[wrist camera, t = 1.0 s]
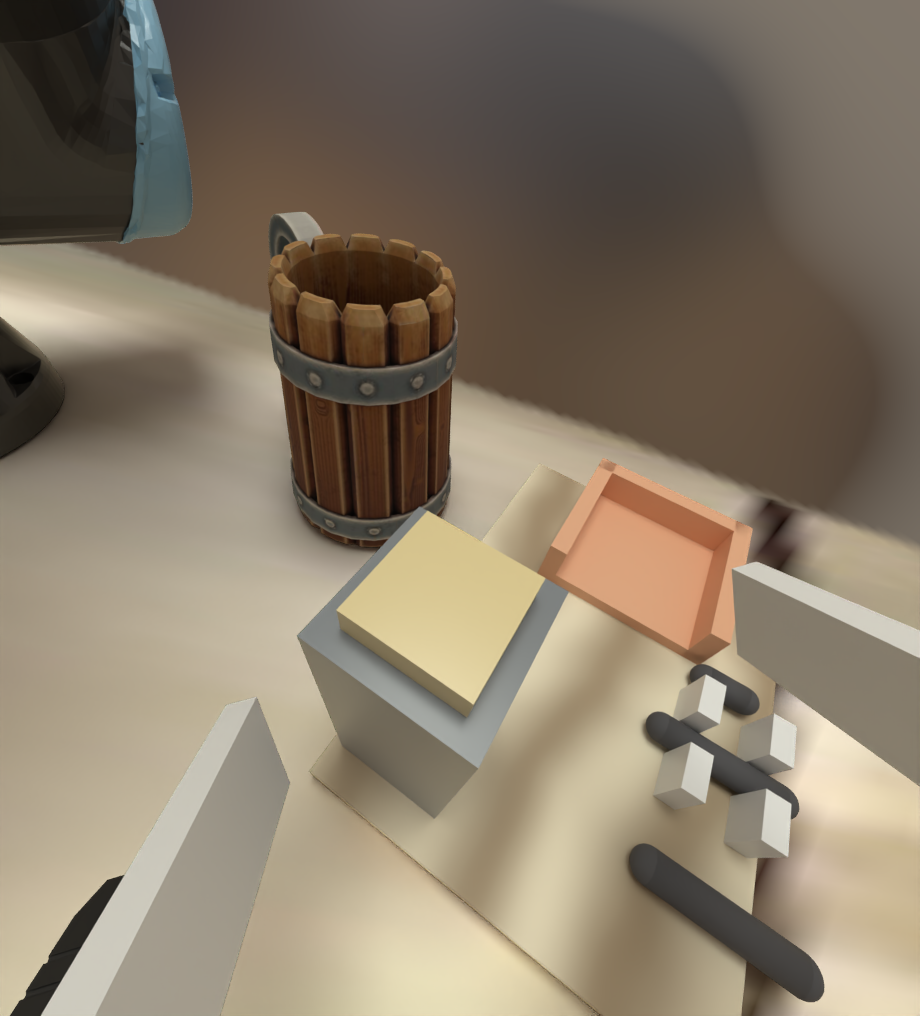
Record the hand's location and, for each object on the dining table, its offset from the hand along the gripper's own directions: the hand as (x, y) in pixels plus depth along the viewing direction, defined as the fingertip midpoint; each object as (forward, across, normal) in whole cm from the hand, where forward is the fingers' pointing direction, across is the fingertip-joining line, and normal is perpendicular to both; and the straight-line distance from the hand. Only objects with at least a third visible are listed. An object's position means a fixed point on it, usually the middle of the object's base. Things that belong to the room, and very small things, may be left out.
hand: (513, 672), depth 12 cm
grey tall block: (+7, -4, -7) cm, 11 cm away
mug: (+22, -6, +4) cm, 23 cm away
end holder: (+14, +11, -5) cm, 19 cm away
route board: (+10, +6, -9) cm, 15 cm away
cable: (+5, +9, -12) cm, 16 cm away
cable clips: (+6, +9, -12) cm, 16 cm away
